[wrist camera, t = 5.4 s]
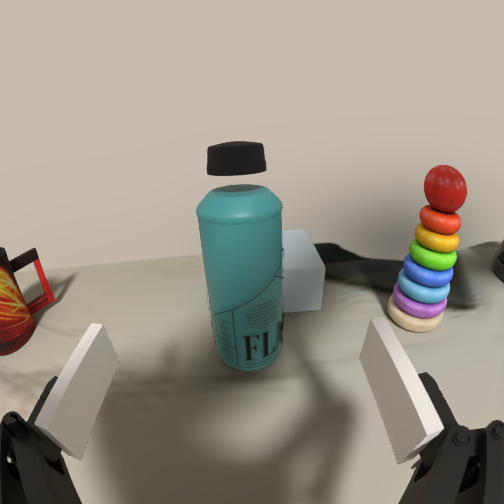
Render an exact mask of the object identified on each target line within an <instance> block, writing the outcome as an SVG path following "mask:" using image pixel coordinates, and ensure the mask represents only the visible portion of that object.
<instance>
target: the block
mask: <svg viewBox="0 0 504 504" xmlns="http://www.w3.org/2000/svg"><path fill="white" fill-rule="evenodd" d="M282 233H283V234H282V248H283V251H282V258H283V259H282V267H284V268H282V277H284V279H282V289H283V290H282V297H283V296H284V297H283V299H284V300H283V299H282V306H283V311H282V313H288V312H303V311H316V310H321V305H322V297H323V287H324V278H325V265H324V264H323V262H322V260H321V258H320V256H319V254H318V252H317V250H316V248H315V246H314V244H313V242H312V241H311V239H310V237H309V235H308V233H307V231H306V230H282ZM283 237H284V238H283ZM283 255H284V256H283Z"/></svg>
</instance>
